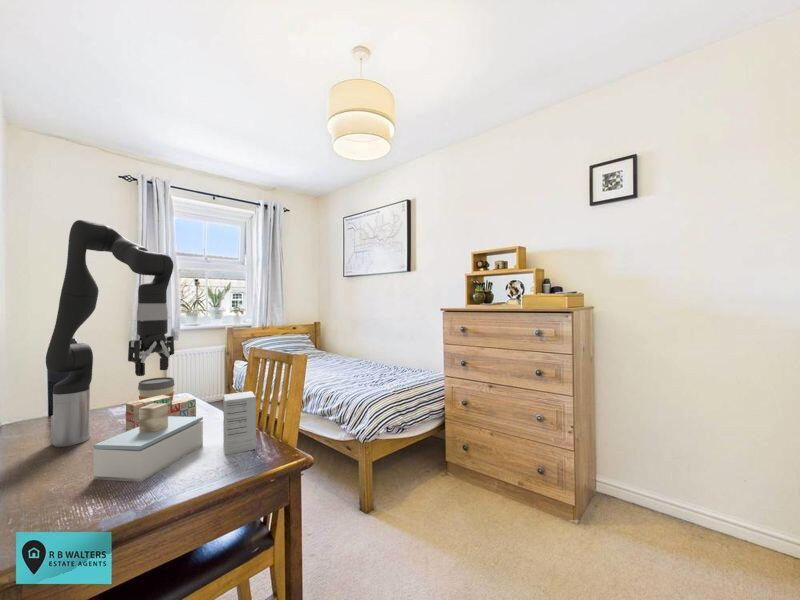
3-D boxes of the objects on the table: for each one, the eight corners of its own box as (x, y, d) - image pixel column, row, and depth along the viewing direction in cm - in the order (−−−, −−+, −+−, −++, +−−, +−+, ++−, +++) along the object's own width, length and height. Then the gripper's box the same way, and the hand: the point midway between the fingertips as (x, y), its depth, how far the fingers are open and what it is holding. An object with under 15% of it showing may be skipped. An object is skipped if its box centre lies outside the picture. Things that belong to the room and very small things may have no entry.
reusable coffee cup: (146, 413, 153) (146, 378, 153) (179, 410, 156) (179, 376, 156) (132, 422, 141) (131, 384, 141) (167, 419, 144) (167, 382, 144)
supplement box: (256, 449, 114) (256, 396, 114) (224, 456, 109) (224, 400, 109) (253, 439, 122) (252, 390, 122) (223, 445, 117) (222, 393, 118)
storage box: (93, 479, 95) (93, 449, 95) (164, 443, 119) (164, 419, 119) (140, 482, 93) (140, 451, 93) (202, 445, 117) (202, 421, 117)
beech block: (139, 432, 104) (138, 408, 104) (153, 426, 109) (152, 403, 109) (154, 432, 104) (154, 408, 104) (168, 426, 109) (167, 403, 109)
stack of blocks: (187, 419, 144) (187, 389, 144) (196, 422, 141) (196, 391, 141) (125, 437, 125) (125, 402, 126) (134, 440, 122) (133, 404, 122)
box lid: (93, 448, 95) (93, 444, 95) (164, 419, 119) (164, 416, 119) (140, 449, 93) (140, 446, 93) (202, 419, 117) (202, 416, 117)
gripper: (160, 317, 114) (160, 368, 114) (119, 319, 100) (119, 377, 100) (181, 317, 113) (181, 368, 113) (143, 320, 99) (143, 378, 99)
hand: (152, 372), depth 107 cm, fingers open, 8 cm apart
